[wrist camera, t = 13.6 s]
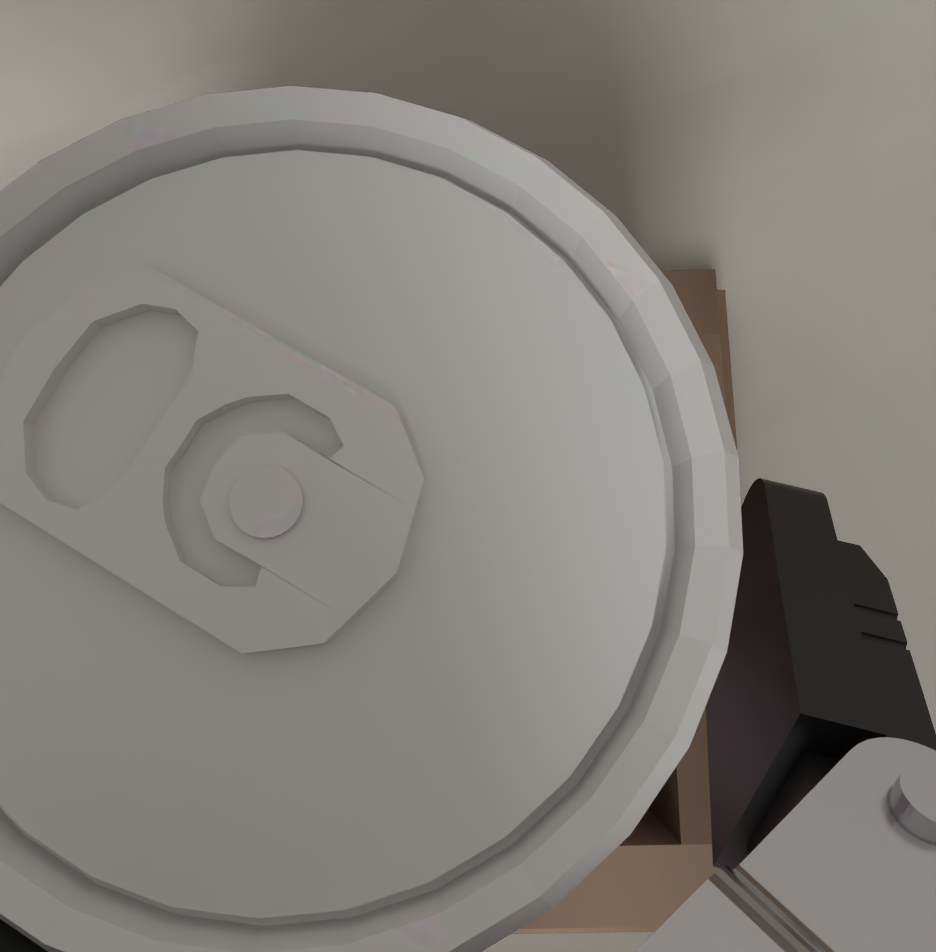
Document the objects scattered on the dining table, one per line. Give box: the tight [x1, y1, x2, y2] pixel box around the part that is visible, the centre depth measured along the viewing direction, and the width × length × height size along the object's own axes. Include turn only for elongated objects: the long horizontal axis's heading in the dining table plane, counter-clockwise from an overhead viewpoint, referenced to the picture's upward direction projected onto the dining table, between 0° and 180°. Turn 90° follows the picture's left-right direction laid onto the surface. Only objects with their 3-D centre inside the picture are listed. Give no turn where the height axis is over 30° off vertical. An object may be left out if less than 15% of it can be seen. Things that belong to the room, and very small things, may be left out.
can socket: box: [511, 269, 741, 934], centre depth 18 cm, size 14×14×6 cm
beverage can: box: [0, 86, 743, 952], centre depth 12 cm, size 6×6×15 cm
